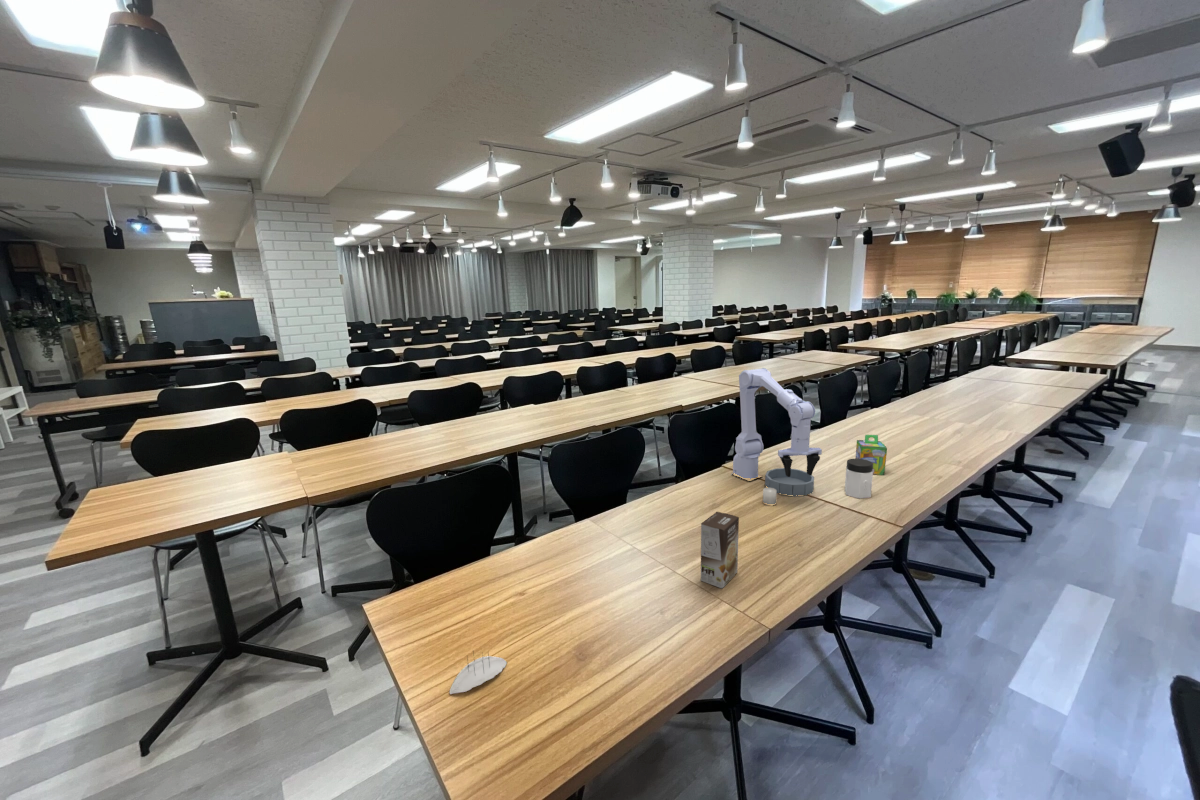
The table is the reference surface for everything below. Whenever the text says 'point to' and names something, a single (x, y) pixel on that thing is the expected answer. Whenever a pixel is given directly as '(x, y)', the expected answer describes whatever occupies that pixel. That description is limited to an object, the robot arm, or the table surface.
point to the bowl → (790, 481)
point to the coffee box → (719, 549)
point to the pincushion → (477, 673)
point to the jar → (858, 478)
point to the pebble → (769, 495)
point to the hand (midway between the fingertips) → (798, 475)
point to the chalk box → (872, 453)
